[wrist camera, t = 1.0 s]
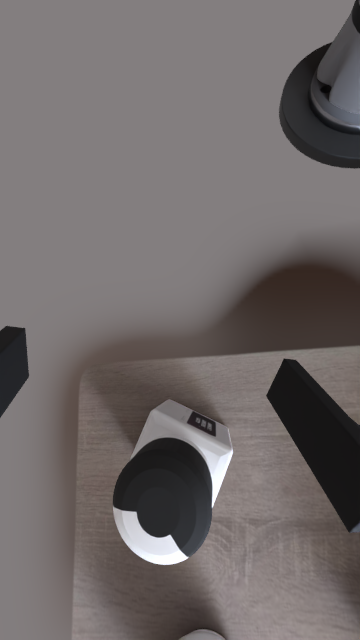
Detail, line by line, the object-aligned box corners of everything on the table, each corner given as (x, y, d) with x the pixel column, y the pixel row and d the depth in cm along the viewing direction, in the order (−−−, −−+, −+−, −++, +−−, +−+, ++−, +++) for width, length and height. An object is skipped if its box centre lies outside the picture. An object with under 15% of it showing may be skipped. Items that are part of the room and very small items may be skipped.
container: (168, 397, 28) (130, 421, 16) (229, 427, 27) (242, 481, 14) (141, 460, 27) (77, 541, 15) (203, 495, 26) (191, 619, 13)
